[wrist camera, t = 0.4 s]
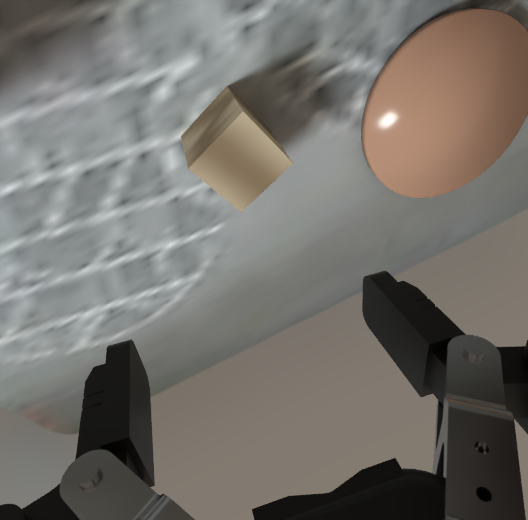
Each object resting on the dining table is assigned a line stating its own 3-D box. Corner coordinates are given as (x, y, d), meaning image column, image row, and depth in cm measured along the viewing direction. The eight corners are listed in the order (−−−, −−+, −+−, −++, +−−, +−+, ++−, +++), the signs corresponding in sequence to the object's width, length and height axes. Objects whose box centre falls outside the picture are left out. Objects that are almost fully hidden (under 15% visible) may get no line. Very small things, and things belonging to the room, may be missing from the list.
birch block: (226, 86, 29) (243, 111, 25) (271, 132, 32) (293, 162, 28) (181, 135, 31) (188, 168, 26) (227, 176, 34) (241, 212, 29)
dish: (487, -46, 28) (503, -45, 27) (542, 107, 37) (556, 113, 36) (324, 113, 32) (331, 120, 31) (408, 217, 41) (416, 226, 40)
